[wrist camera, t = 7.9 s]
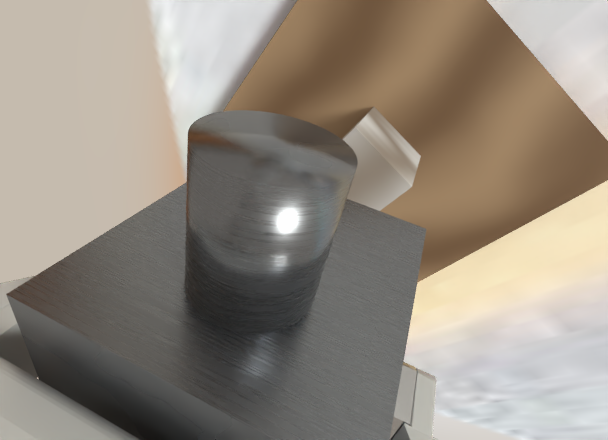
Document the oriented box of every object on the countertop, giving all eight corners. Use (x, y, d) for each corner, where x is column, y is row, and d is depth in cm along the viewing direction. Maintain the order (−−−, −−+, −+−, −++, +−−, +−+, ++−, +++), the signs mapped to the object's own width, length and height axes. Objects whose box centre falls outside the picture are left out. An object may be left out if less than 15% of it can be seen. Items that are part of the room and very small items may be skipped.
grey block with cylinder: (218, 291, 15) (70, 460, 9) (241, 55, 10) (-64, 116, 4) (360, 359, 14) (289, 599, 8) (476, 129, 9) (498, 362, 3)
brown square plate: (212, 138, 28) (159, 165, 23) (386, -114, 17) (355, -162, 12) (372, 296, 29) (354, 352, 25) (619, 157, 19) (673, 209, 14)
